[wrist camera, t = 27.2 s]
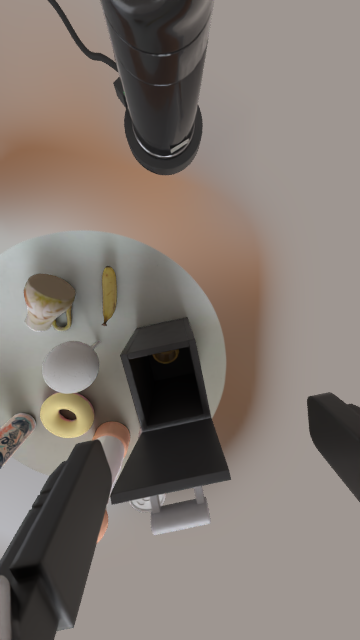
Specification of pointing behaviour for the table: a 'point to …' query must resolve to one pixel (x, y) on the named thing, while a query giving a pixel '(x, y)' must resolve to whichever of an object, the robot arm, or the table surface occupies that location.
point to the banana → (109, 293)
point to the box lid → (173, 473)
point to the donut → (62, 425)
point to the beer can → (14, 435)
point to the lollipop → (71, 367)
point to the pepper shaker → (112, 453)
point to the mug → (47, 302)
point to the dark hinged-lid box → (165, 376)
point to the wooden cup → (166, 356)
